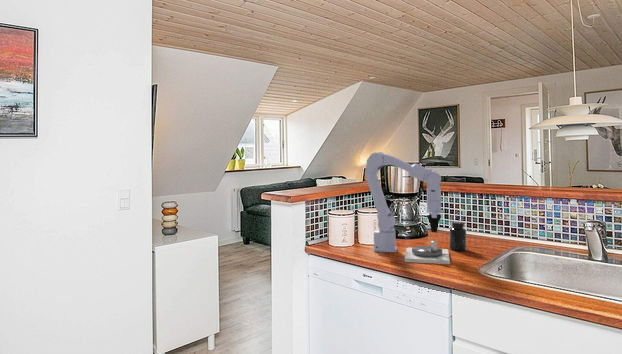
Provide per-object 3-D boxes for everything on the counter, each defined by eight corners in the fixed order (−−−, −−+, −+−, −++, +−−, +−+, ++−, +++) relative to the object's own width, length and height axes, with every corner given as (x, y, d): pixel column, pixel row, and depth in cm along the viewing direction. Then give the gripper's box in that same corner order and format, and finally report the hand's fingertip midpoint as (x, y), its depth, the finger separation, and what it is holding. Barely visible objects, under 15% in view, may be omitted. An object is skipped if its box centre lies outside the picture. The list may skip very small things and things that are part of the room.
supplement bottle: (467, 251, 163) (467, 224, 163) (451, 251, 165) (450, 224, 164) (464, 247, 170) (464, 221, 169) (448, 247, 172) (448, 221, 171)
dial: (406, 251, 161) (406, 237, 160) (429, 247, 165) (429, 234, 164) (423, 258, 149) (423, 243, 149) (448, 254, 153) (448, 240, 153)
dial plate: (404, 261, 152) (404, 257, 151) (407, 250, 168) (407, 247, 168) (449, 264, 146) (449, 260, 146) (447, 252, 163) (447, 248, 163)
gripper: (444, 202, 152) (444, 236, 153) (443, 198, 166) (443, 228, 167) (426, 202, 154) (426, 235, 155) (426, 197, 168) (426, 228, 169)
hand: (434, 231), depth 161 cm, fingers closed
